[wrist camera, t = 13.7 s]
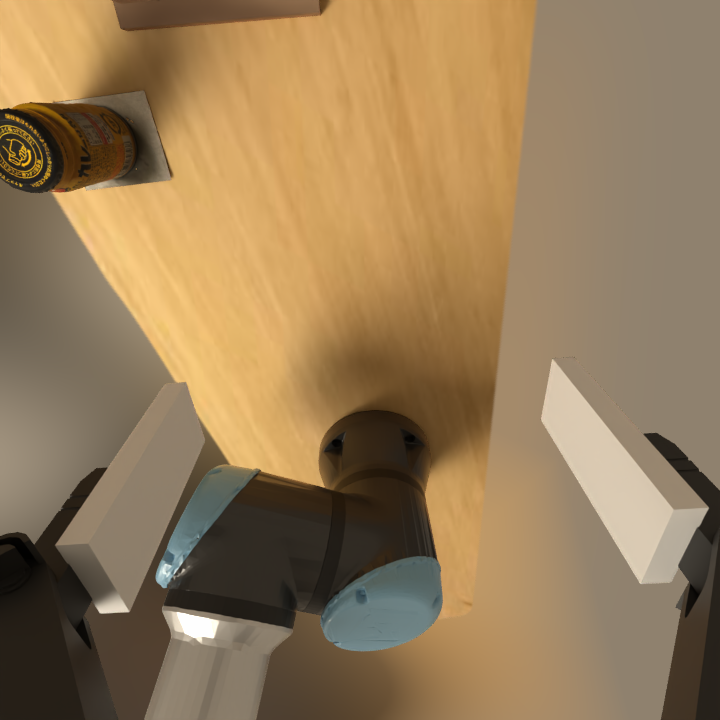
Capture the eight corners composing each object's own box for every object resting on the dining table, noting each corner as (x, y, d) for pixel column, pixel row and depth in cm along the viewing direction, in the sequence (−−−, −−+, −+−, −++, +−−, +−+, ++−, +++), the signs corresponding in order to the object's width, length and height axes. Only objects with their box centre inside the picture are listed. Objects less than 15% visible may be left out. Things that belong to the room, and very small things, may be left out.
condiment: (51, 103, 38) (-62, 101, 28) (145, 90, 37) (65, 83, 27) (87, 190, 42) (-1, 217, 31) (172, 179, 41) (112, 203, 31)
